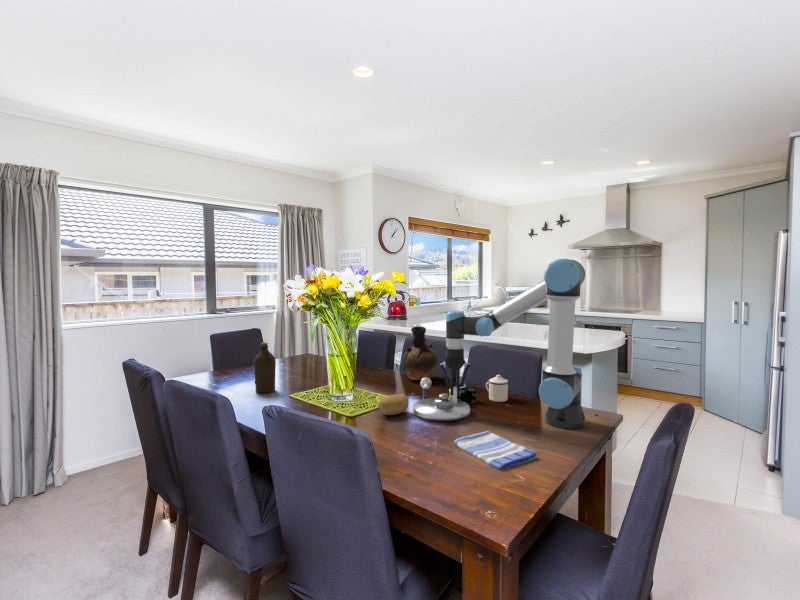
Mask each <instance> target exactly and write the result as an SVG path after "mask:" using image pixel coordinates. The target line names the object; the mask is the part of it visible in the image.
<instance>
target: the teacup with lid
mask: <svg viewBox="0 0 800 600" xmlns="http://www.w3.org/2000/svg"><path fill="white" fill-rule="evenodd" d="M485 388H486V390H487V392H488V399H489V400H490V401H492V402H498V403H502V402H503V403H504V402H506V401H508V398H509V397H508V396H509V395H508V393H509V392H508V391H509V380H508V379H506V378H504V377H502V375H501V374H496V375H495V376H494V377H492V378H489V379H488V381H487V382H486V383H485Z"/></svg>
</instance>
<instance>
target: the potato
mask: <svg viewBox="0 0 800 600" xmlns="http://www.w3.org/2000/svg"><path fill="white" fill-rule="evenodd" d="M377 406H378V408H379V410H380V411H381V412H382V413H384V414H385V415H387V416H395V415H398V414H401V413H403V412H405V411H406V410H407V409H408V408H409V407H408V406H409V398H408V397H407V395H405V394H404V393H399V394H390V395H388V396H385V397H383V398H381V399H380V400H379V401H378V405H377Z"/></svg>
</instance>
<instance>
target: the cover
mask: <svg viewBox="0 0 800 600" xmlns="http://www.w3.org/2000/svg"><path fill="white" fill-rule="evenodd" d="M434 398H435V399H434V407H435V408H438V409H451V408H453V399H452V398H450V394H448V393H440V394H438V397H434Z"/></svg>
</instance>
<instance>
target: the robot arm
mask: <svg viewBox="0 0 800 600" xmlns="http://www.w3.org/2000/svg"><path fill="white" fill-rule="evenodd" d="M585 279H586V270H585V268H584V266H583V265H582V264H581V263H580V262H579V261H577V260H574V259H569V258H558V259H556V260H553V261H551V263H549V264H548V265H547V267H546V268H545V270H544V273H543V280H540V281H539V282H538V283H536V284H534V285H533V286H530V287H529V288H528V289H526V290H525V291H523V292H521V293H519V294H518V295H516V296H514V297H513V298H511V299H510V300H508V301H506V302H504V303H503V304H501V305H500V306H498V307H496V308H495V309H493V310H491V311H490V312H488V313H486V314H484V315H481V316H465V312H464V311H460V310H451V311H449V310H448V311H447V312H446V321H445V326H446V327H445V334H446V335H445V347H446V348H445V359H444V361H443V362H442V363H439V367H440V368H441V370H442V373H443V377H444V381H445V385H446V387H448V388H449V395H450V394H451V395H453V404H457V395H459V391H460V388H464V386H465V383H466V378H467V375H468V371H469V369H470V368H471V365H470V363H468V362H466V360H465V349H464V347H465V336H466V335H467V336H476V337H477V336H478V337H490V336H492V334H493V332H495V331H496V330H498V329H499V328H501V327H502V326H504V325H505V324H507V323H509V322H511V321H512V320H514V319H516V318H518V317H519V316H522V315H523V314H524V313H526V312H528V311H530V310H532V309H534V308H535V307H537V306H539V305H540V304H542V303H543V302H545V301H547V300H549V316H548V317H549V319H548V335H547V337H548V340H547V341H548V342H547V361H546V362H547V364H546V365H544V367H542V375H541V382H540V384H539V387H538V395H539V398H540V400H541V402H543V403H544V404H545V405H546V406H547V409H546V412H545V413H544V414H545V415H544V421H545V422H546V423H547V424H548V425H550V426H552V427H555V428H560V429H566V430H567V429H568V430H577V428H578V429H582V428H584V427H585V426H586V425H585V424H587V423H586V416H585V412H584V410H583V406H582V386H583V385H582V384H583V383H582V382H583V381H582V379H583V372H582V368H581V367H579V366H576V365H573V354H574V353H573V352H574V336H575V335H574V334H575V333H574V331H575V315H576V314H575V313H576V302H577V301H578V300H579V298H581V287H582V285H583V283H584V281H585ZM446 367H447V368H448V369H449V379H448V374H447V369H446ZM462 368H463V372H462V376H461V375H460V374H461V369H462ZM454 373H455V374H456V375H454ZM460 376H461V380H460ZM454 377H455V378H454ZM454 379H456V380H455V381H454ZM454 382H456V383H454ZM454 384H455V386H454ZM583 426H584V427H583ZM581 427H582V428H581Z"/></svg>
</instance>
